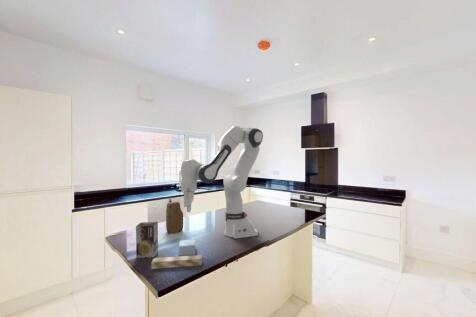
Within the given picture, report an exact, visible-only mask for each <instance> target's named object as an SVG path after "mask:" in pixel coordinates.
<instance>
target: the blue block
mask: <svg viewBox="0 0 476 317" xmlns="http://www.w3.org/2000/svg"><path fill="white" fill-rule="evenodd" d="M194 255H196V239H194V238H193V239H182V240H180V241H179V246H178V256H194Z"/></svg>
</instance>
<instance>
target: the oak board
mask: <svg viewBox="0 0 476 317" xmlns="http://www.w3.org/2000/svg"><path fill="white" fill-rule="evenodd" d="M202 262H203V255H202V254H197V255H196V254H193V255H182V256H179V255H178V256H168V257H167V256H165V257H164V256H162V257H153V259H152V261H151V270H157V269H171V268H182V267H195V266H197V267H198V266H202Z"/></svg>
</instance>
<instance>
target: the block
mask: <svg viewBox="0 0 476 317" xmlns="http://www.w3.org/2000/svg"><path fill="white" fill-rule="evenodd" d="M165 213H166V214H165V215H166V216H165V228H166V229H165V230H166V232H167V233H168V234H177V233H181V232H182V231H183V228H184V212H183V211H182V208H181V204H180V202H179V201H172V202H168V203H166V212H165Z"/></svg>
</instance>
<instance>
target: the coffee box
mask: <svg viewBox="0 0 476 317" xmlns="http://www.w3.org/2000/svg"><path fill="white" fill-rule="evenodd" d="M158 223H159V222H158V221H148V222H143V221H142V222H139V223H138V224H137V225H136V226H135V243H136V245H135V246H136V247H135V250H136V254H135V255H136V256H135V257H136V259H141V258H142V259H143V258H144V259H145V257H147V258H156V256H157V254H158V253H159V233H158V232H159V230H158V228H159V224H158Z"/></svg>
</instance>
